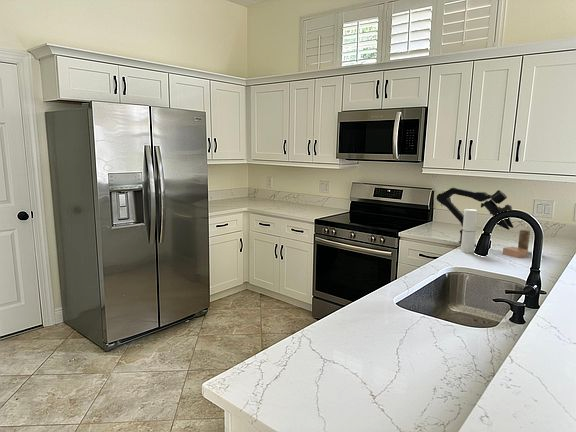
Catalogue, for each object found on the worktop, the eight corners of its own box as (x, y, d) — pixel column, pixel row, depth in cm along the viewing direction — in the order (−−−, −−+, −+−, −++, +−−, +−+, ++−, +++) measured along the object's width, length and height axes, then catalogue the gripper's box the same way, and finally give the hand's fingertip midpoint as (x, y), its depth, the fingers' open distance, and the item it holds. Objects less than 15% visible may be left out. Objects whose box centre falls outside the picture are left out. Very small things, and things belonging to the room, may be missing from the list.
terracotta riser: (502, 254, 236) (503, 247, 235) (512, 253, 240) (512, 246, 239) (517, 258, 228) (518, 251, 227) (527, 256, 232) (527, 249, 231)
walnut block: (517, 251, 242) (519, 230, 240) (519, 250, 246) (521, 229, 244) (526, 253, 239) (528, 231, 237) (527, 251, 243) (530, 230, 241)
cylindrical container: (460, 251, 239) (463, 210, 235) (461, 249, 245) (464, 208, 241) (473, 253, 235) (477, 211, 232) (474, 251, 242) (477, 209, 238)
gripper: (499, 201, 240) (518, 221, 234) (508, 199, 253) (526, 218, 248) (484, 213, 246) (502, 233, 240) (493, 210, 260) (510, 229, 254)
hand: (511, 228), depth 245 cm, fingers open, 9 cm apart
